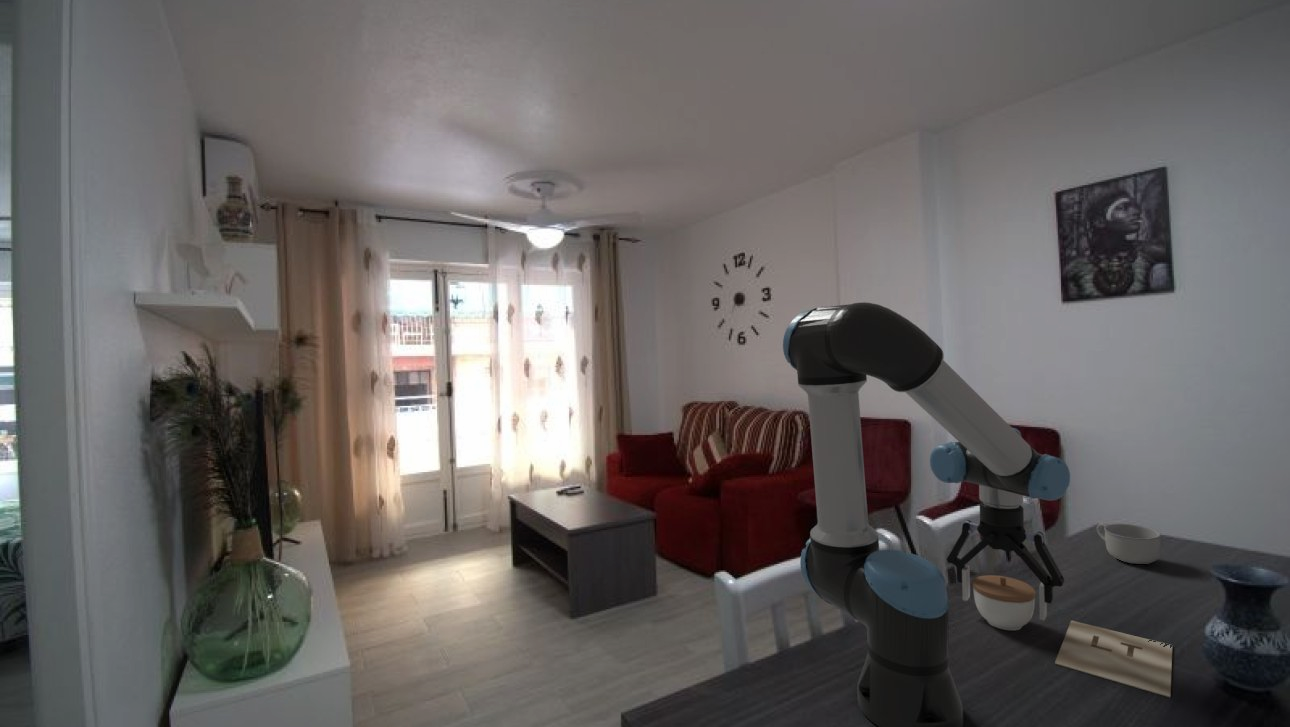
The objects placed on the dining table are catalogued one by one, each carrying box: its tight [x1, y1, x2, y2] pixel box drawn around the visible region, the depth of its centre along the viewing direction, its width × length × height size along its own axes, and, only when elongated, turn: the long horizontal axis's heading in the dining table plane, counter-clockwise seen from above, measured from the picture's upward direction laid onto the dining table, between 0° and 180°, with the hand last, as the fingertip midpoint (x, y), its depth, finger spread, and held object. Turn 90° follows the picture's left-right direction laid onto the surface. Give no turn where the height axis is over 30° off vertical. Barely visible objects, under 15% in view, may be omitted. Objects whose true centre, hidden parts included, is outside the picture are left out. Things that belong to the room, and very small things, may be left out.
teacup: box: [1096, 522, 1161, 565], centre depth 145 cm, size 14×11×8 cm
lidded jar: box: [972, 574, 1036, 632], centre depth 115 cm, size 11×11×9 cm
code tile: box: [1054, 620, 1173, 698], centre depth 102 cm, size 20×15×1 cm
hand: (1003, 607), depth 115 cm, fingers open, 13 cm apart
